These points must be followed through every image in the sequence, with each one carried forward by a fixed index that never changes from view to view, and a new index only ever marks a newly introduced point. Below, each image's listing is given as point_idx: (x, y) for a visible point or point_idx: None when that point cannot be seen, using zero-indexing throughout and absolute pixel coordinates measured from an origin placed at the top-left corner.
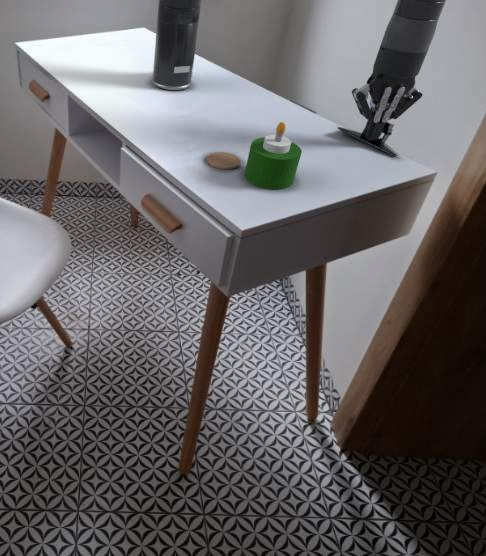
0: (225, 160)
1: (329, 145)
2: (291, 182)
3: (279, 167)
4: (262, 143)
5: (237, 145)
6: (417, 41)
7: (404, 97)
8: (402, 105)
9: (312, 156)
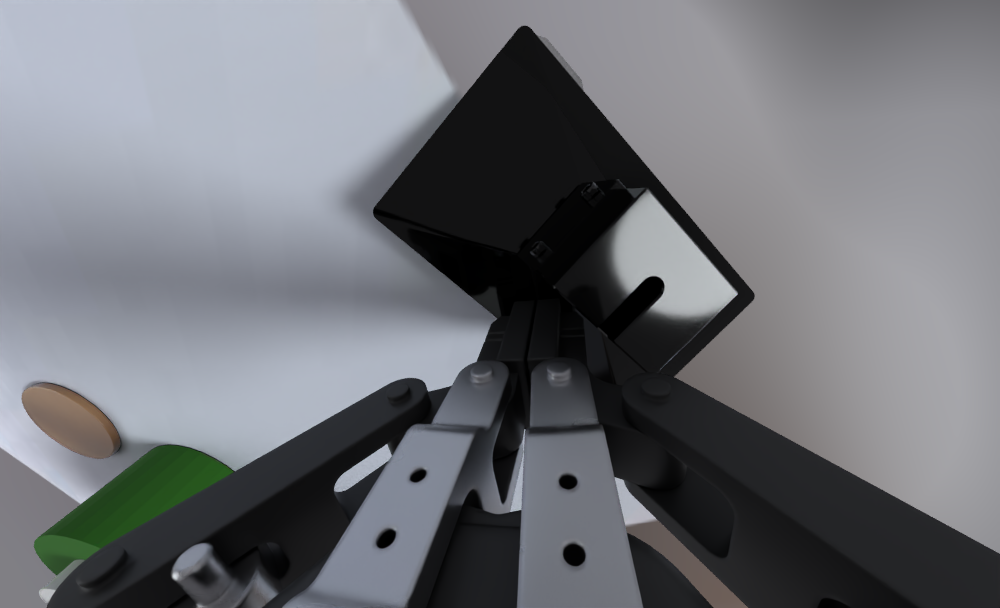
0: (74, 428)
1: (361, 312)
2: None
3: None
4: (64, 562)
5: (55, 326)
6: None
7: (847, 600)
8: (726, 569)
9: (298, 397)
